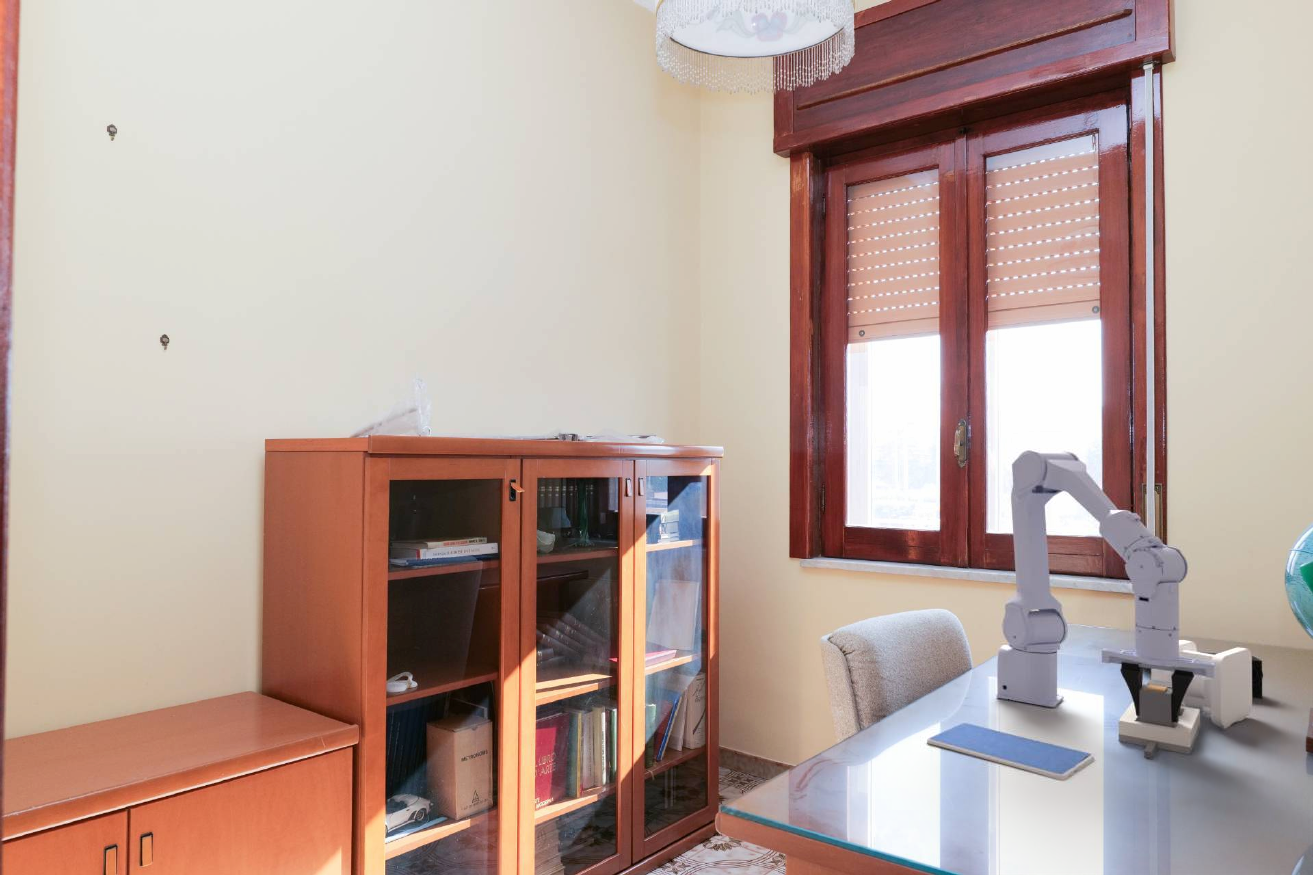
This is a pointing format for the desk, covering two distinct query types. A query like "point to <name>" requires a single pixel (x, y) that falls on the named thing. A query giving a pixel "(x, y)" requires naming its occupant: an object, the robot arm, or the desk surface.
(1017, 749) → the tablet computer
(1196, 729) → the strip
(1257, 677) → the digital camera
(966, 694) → the desk surface
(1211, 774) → the desk surface
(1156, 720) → the plug
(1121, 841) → the desk surface
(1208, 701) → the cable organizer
